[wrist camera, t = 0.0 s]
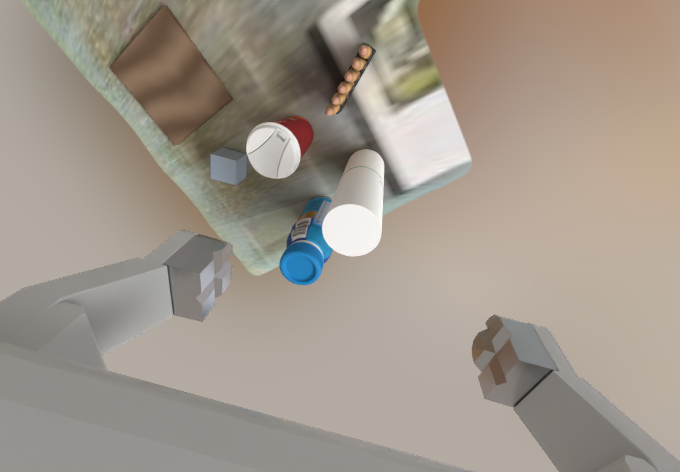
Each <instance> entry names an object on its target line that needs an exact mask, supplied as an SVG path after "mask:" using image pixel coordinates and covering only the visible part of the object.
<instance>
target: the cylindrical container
mask: <svg viewBox="0 0 680 472" xmlns="http://www.w3.org/2000/svg"><path fill="white" fill-rule="evenodd" d="M383 184H384V162H383V160H382V158H381V156H380V155H379V154H378V153H376V152H375V151H373V150H369V149H362V150H359V151H356V152H355V153H354V154H353V155H352V156H351V157H350V159H349V161H348V163H347V165H346V168H345V170H344V173H343V175H342V177H341V180H340V182H339V185H338V187H337V189H336V192H335V194H334V197H333V199H332V201H331V204H330V206H329V209H328V211H327V213H326V216H325V218H324V221H323V224H322V233H323V237H324V239H325V241H326V243H327V244H328V245H329V246H330V247H331V248H332V249H333V250H335V251H336V252H338V253H340V254H343V255H347V256H361V255H364V254H367V253H369V252H370V251H372V250H373V249H374V248H375V247H376V246H377V245H378V243H379V241H380V238H381V232H382V208H383Z"/></svg>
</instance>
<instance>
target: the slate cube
mask: <svg viewBox="0 0 680 472" xmlns="http://www.w3.org/2000/svg"><path fill="white" fill-rule="evenodd" d="M246 173H247V154H246V153H242V152H238V151H235V150H231V149H227V148H221V149H219V150H217V151H215V152H213V153H211V179H213V180H217V181H221V182H224V183H228V184H232V185H235V186H236V185H237V184H238V183H240V182H241V181H242V180H243V179H245V178H246Z"/></svg>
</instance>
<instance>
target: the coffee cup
mask: <svg viewBox="0 0 680 472" xmlns="http://www.w3.org/2000/svg"><path fill="white" fill-rule="evenodd" d="M312 140H313V129H312V127H311V125H310V123H309V122H308V121H307V120H306V119H304V118H302V117H298V116H294V117H289V118H286V119H282V120H279V121H276V122H265V123H262V124H259V125H257V126H256V127H255V128H254V129H253V130H252V131H251V132H250V134H249V136H248V139H247V145H246V152H247V156H248V158H249V161H250V163H251V164H252V166H253V168H254V169H255V170H256V171H257V172H258V173H260V174H261V175H263V176H266V177H269V178H276V179H280V178H285V177H287V176H289V175H291V174H292V173H293V172H294V171H295V170H296V169H297V167H298V165H299V163H300V159H301V158H302V156H303V155H304V153H305V152H306V150H307V149H308V147H309V146H310V144H311V142H312Z"/></svg>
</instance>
